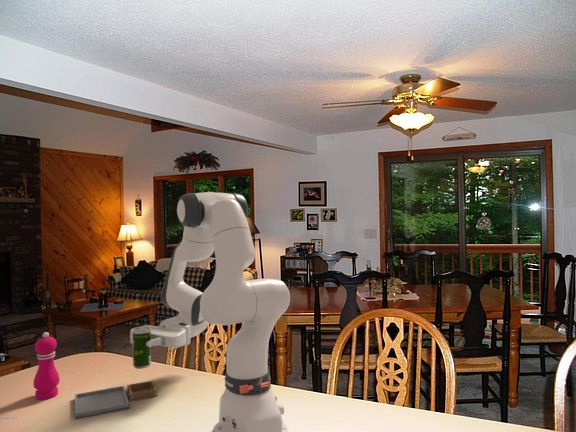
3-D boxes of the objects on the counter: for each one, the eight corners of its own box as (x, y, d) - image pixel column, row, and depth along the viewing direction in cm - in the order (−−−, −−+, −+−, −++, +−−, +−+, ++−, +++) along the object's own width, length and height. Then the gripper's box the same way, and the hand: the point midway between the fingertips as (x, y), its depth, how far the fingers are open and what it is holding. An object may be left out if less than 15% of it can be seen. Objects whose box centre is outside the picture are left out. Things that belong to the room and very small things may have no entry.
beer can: (151, 362, 143) (150, 325, 142) (150, 368, 137) (150, 329, 137) (133, 364, 141) (132, 326, 141) (132, 370, 136) (131, 331, 136)
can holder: (157, 395, 138) (157, 389, 138) (130, 401, 134) (130, 394, 134) (153, 386, 145) (152, 380, 145) (127, 391, 141) (127, 384, 141)
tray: (129, 408, 129) (128, 403, 129) (75, 419, 123) (75, 413, 123) (123, 390, 142) (123, 385, 142) (74, 399, 136) (74, 394, 136)
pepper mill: (48, 401, 134) (47, 336, 134) (28, 399, 136) (26, 334, 135) (65, 391, 141) (63, 329, 141) (45, 389, 143) (44, 328, 142)
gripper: (148, 318, 155) (116, 328, 143) (193, 325, 146) (162, 337, 133) (149, 336, 156) (116, 347, 143) (193, 344, 146) (163, 357, 134)
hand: (139, 342), depth 138 cm, fingers closed on beer can, 5 cm apart
